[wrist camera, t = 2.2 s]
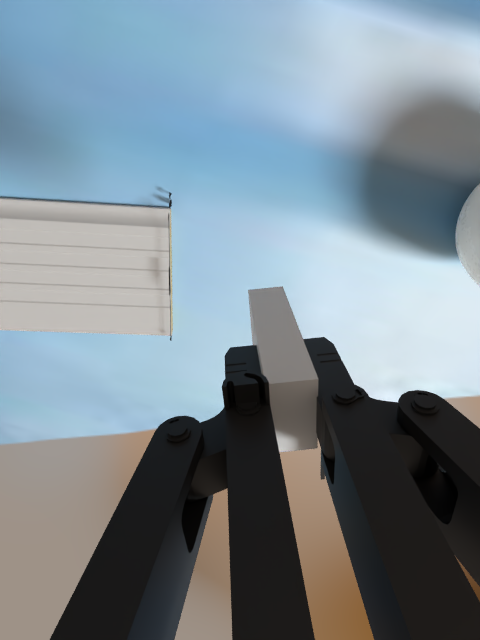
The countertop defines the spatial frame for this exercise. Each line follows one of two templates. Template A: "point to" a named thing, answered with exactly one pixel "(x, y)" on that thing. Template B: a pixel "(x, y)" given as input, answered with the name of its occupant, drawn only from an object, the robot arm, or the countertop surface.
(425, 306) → the countertop surface
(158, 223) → the baseboard
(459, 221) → the lidded jar
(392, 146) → the countertop surface
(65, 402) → the countertop surface
